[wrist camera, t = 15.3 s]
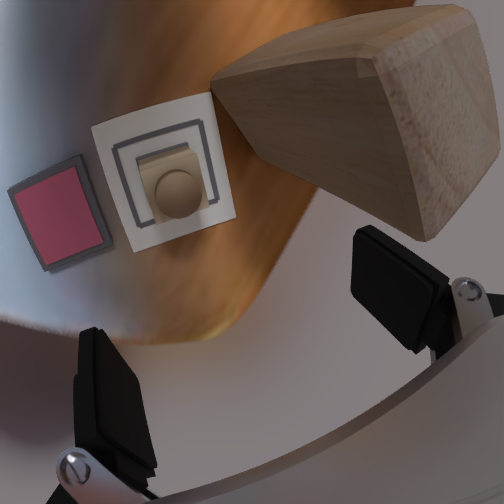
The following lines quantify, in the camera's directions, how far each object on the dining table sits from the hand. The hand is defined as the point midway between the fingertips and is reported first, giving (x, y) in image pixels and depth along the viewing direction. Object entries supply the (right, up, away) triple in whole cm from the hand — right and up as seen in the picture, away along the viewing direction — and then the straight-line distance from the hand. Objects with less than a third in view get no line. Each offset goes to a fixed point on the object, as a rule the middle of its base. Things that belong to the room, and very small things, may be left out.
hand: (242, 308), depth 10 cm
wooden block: (+2, +17, +16) cm, 24 cm away
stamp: (-7, +9, +16) cm, 20 cm away
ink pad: (-17, +5, +14) cm, 23 cm away
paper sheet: (-7, +9, +16) cm, 20 cm away
